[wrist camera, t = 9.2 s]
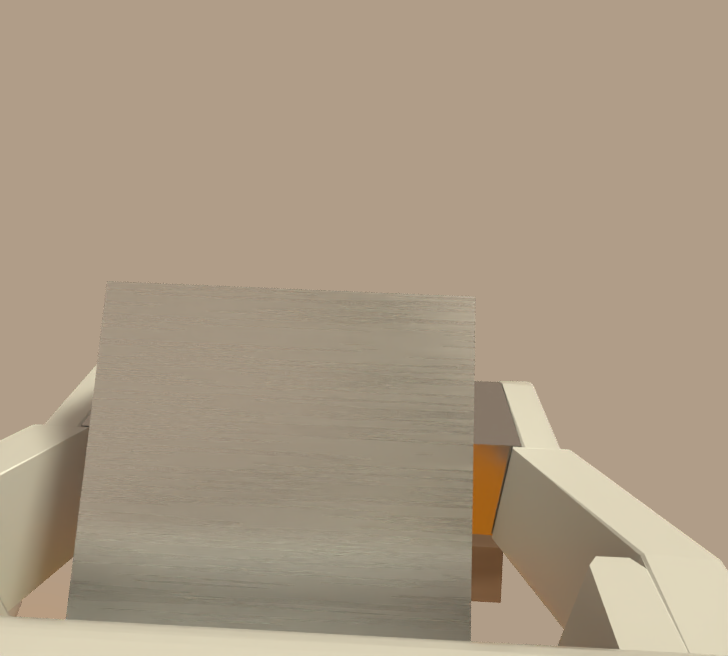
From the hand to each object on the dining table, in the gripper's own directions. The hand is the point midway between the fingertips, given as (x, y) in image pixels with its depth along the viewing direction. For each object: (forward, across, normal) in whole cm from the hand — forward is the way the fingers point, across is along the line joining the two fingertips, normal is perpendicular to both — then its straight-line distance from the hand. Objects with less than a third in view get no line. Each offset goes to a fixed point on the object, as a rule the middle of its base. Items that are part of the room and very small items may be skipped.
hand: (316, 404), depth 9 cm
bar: (+8, 0, +10) cm, 13 cm away
